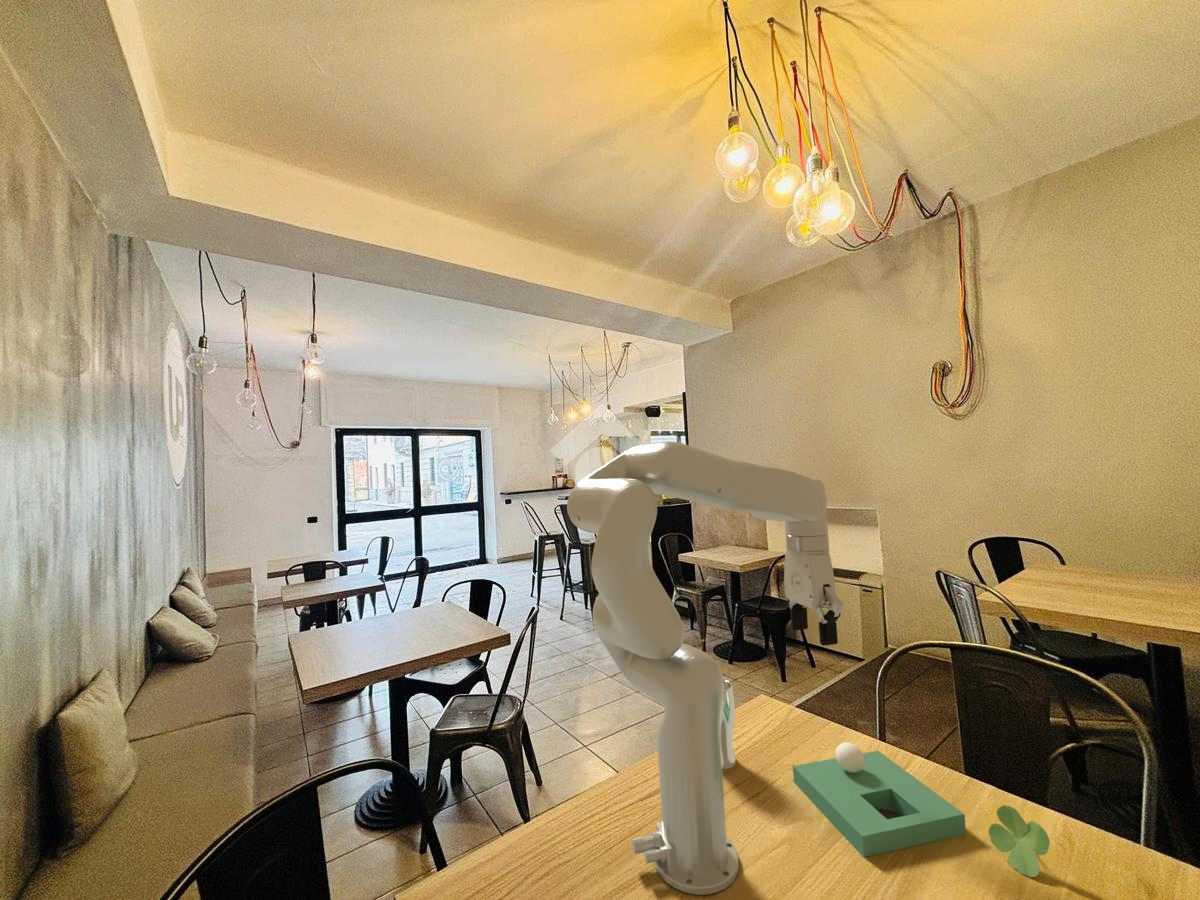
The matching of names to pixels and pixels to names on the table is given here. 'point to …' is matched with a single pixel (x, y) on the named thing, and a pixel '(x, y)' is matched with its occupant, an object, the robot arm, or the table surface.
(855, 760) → the ball
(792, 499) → the robot arm
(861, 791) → the putting board
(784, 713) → the table surface
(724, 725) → the white bottle
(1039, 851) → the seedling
